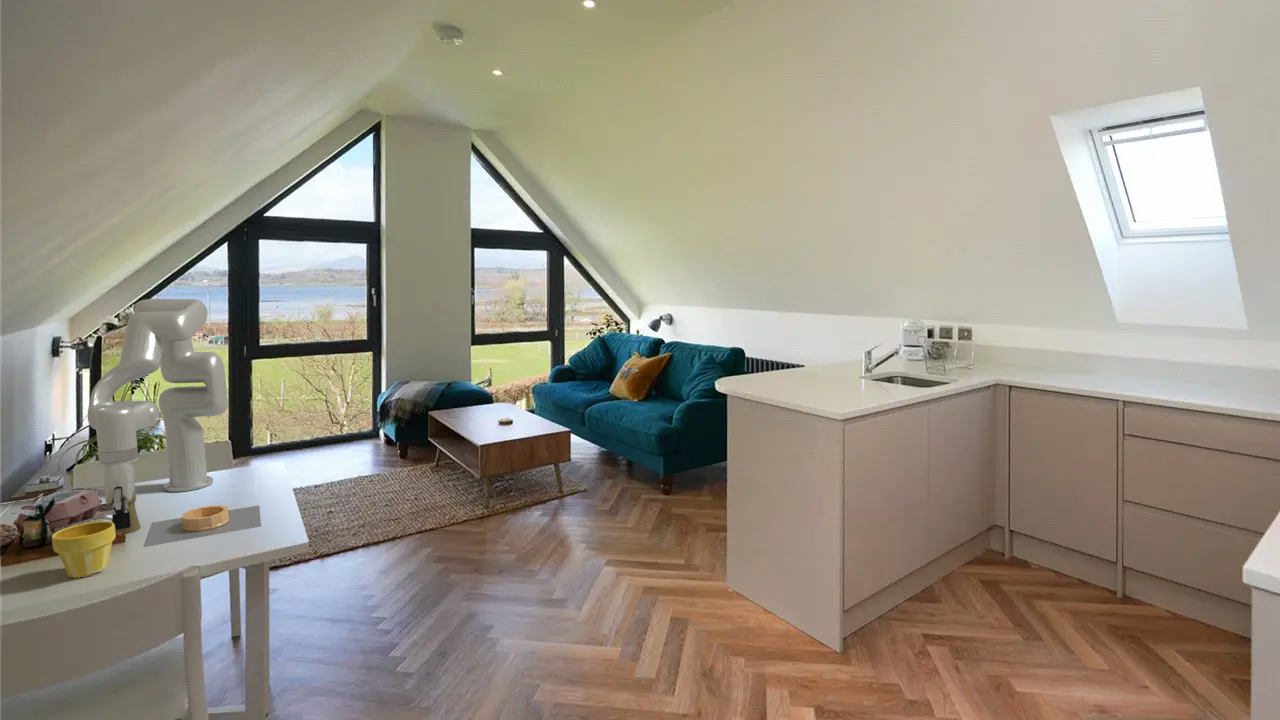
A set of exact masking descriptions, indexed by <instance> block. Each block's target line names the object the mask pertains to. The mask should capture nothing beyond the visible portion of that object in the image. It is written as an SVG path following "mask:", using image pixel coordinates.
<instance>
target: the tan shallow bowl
mask: <svg viewBox="0 0 1280 720" xmlns="http://www.w3.org/2000/svg"><path fill="white" fill-rule="evenodd" d="M228 510H229V507H228V506H225V505H208V506H207V505H206V506H201V507H197V508H193V509H190V510H188V511H186V512H184V513H183V514H181V518H182V527H183V530H184V531H187V532H200V531H207V530H212V529H215V528H218V527H221V526H223V525H225V524H227V523H228V522H229V514H228Z"/></svg>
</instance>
